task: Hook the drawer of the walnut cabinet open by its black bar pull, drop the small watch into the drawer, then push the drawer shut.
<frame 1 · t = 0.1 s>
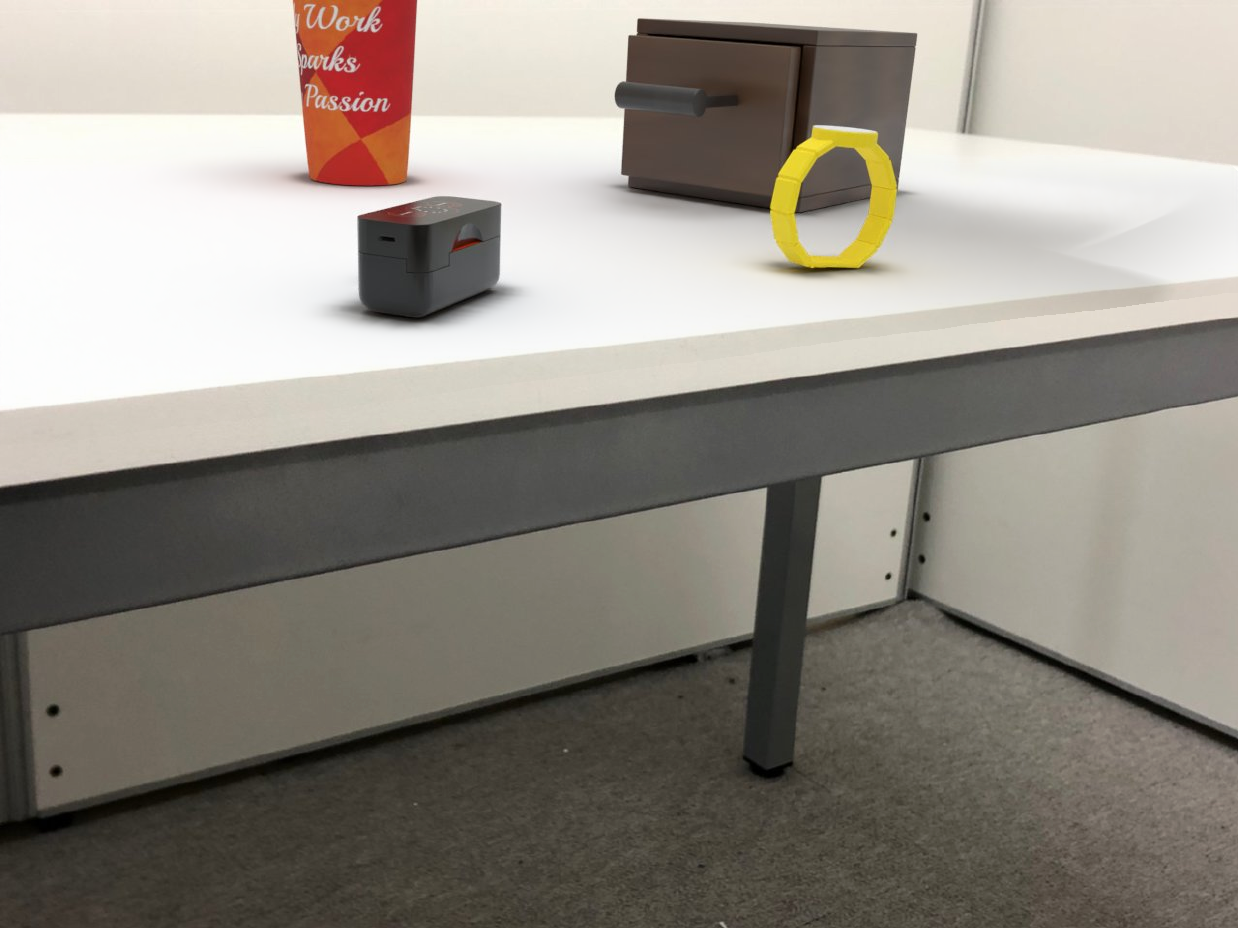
watch: (826, 271, 56), on the table
wireless earbuds: (424, 299, 47), on the table
paper cup: (359, 182, 73), on the table
cabinet: (766, 189, 78), on the table
drawer: (735, 112, 73), point 5 cm above the table, slide at 0.5 cm
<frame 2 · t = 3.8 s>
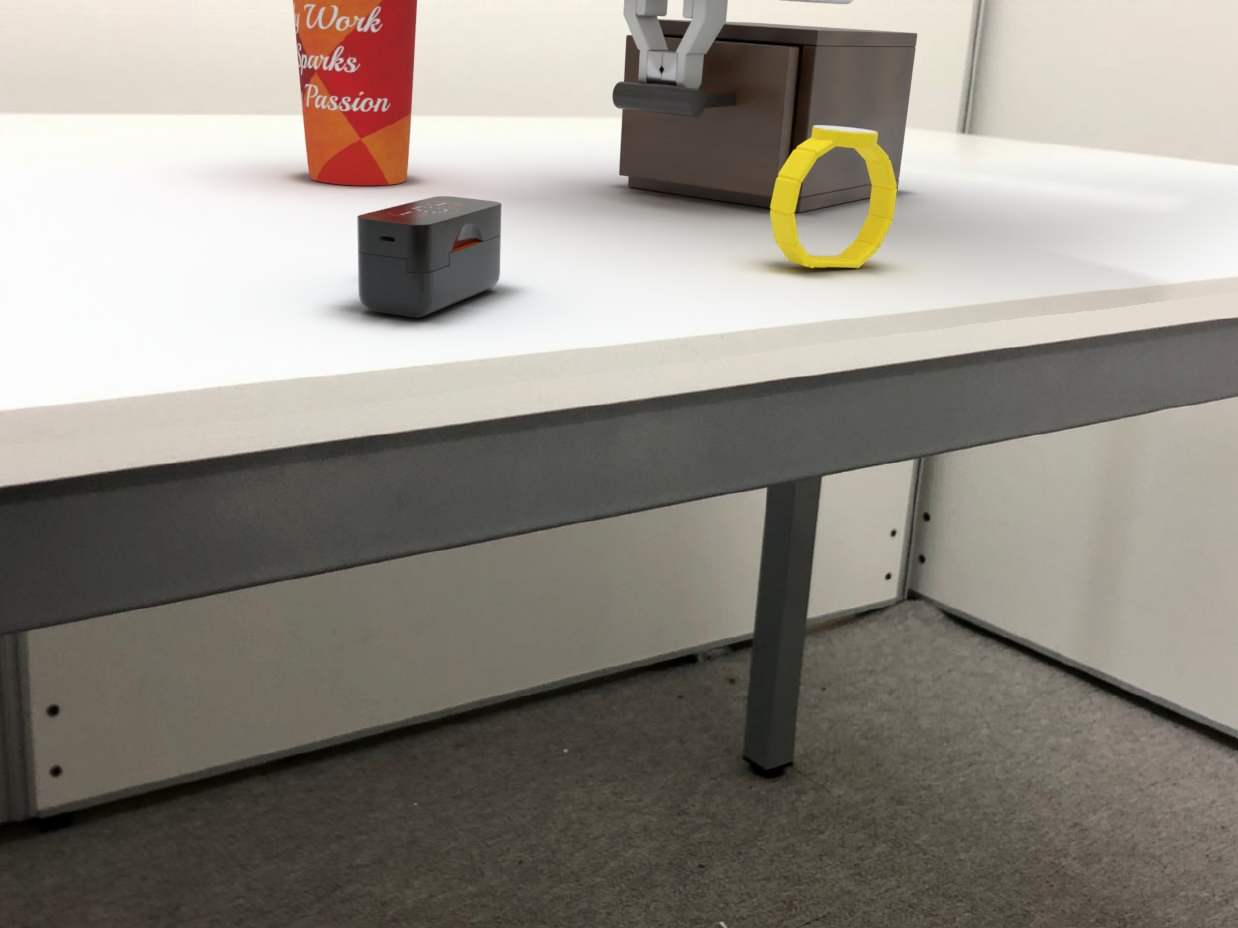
hand: (668, 87, 67), 6 cm above the table, tool pointing down, fingers closed, pressing on drawer
drawer: (733, 112, 73), point 5 cm above the table, slide at 0.7 cm, touching gripper
everything else where it was.
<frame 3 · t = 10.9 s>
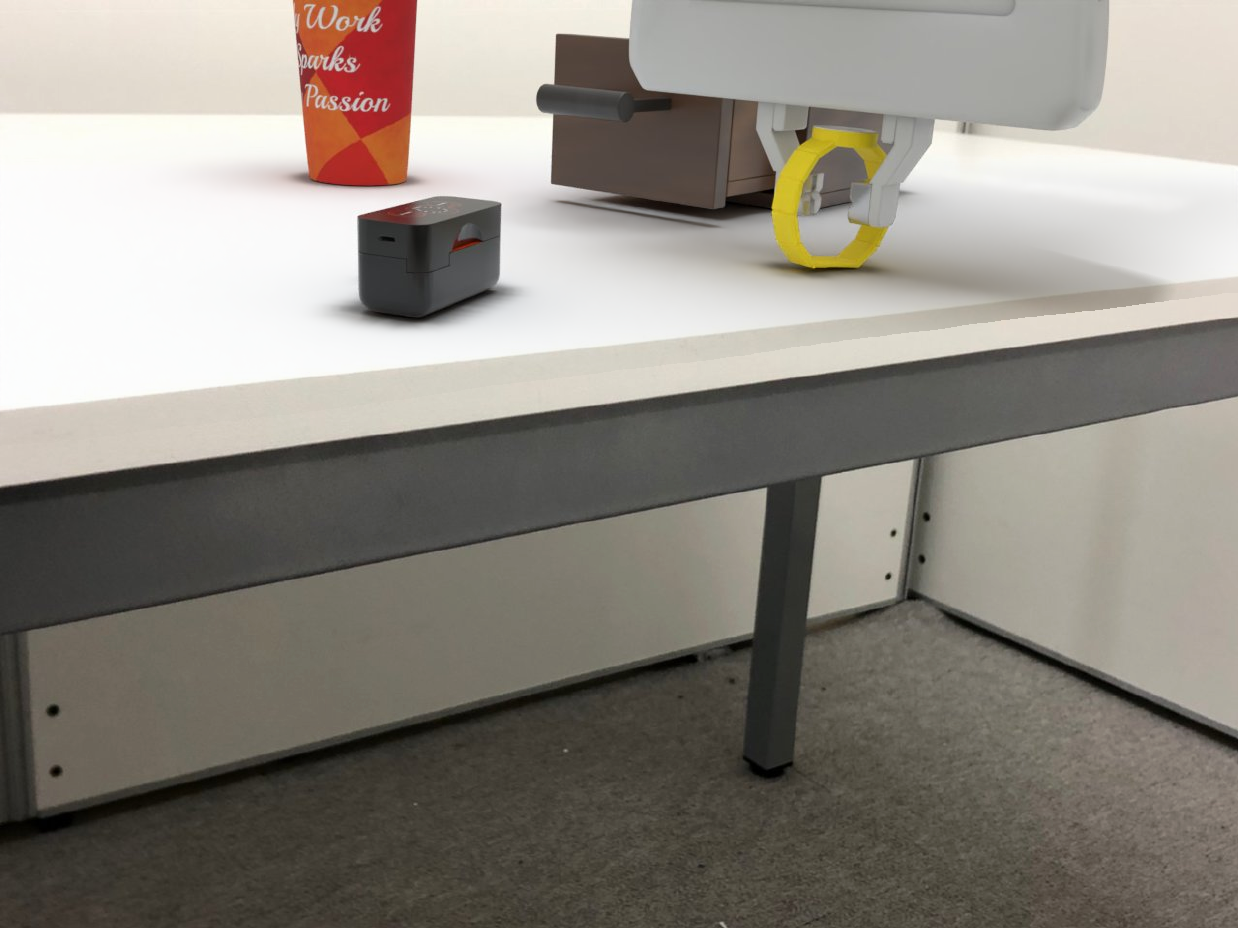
hand: (832, 219, 55), 2 cm above the table, tool pointing down, fingers closed on watch, 2 cm apart
watch: (826, 271, 56), on the table, touching gripper
drawer: (672, 116, 68), point 5 cm above the table, slide at 7.2 cm
everything else where it was.
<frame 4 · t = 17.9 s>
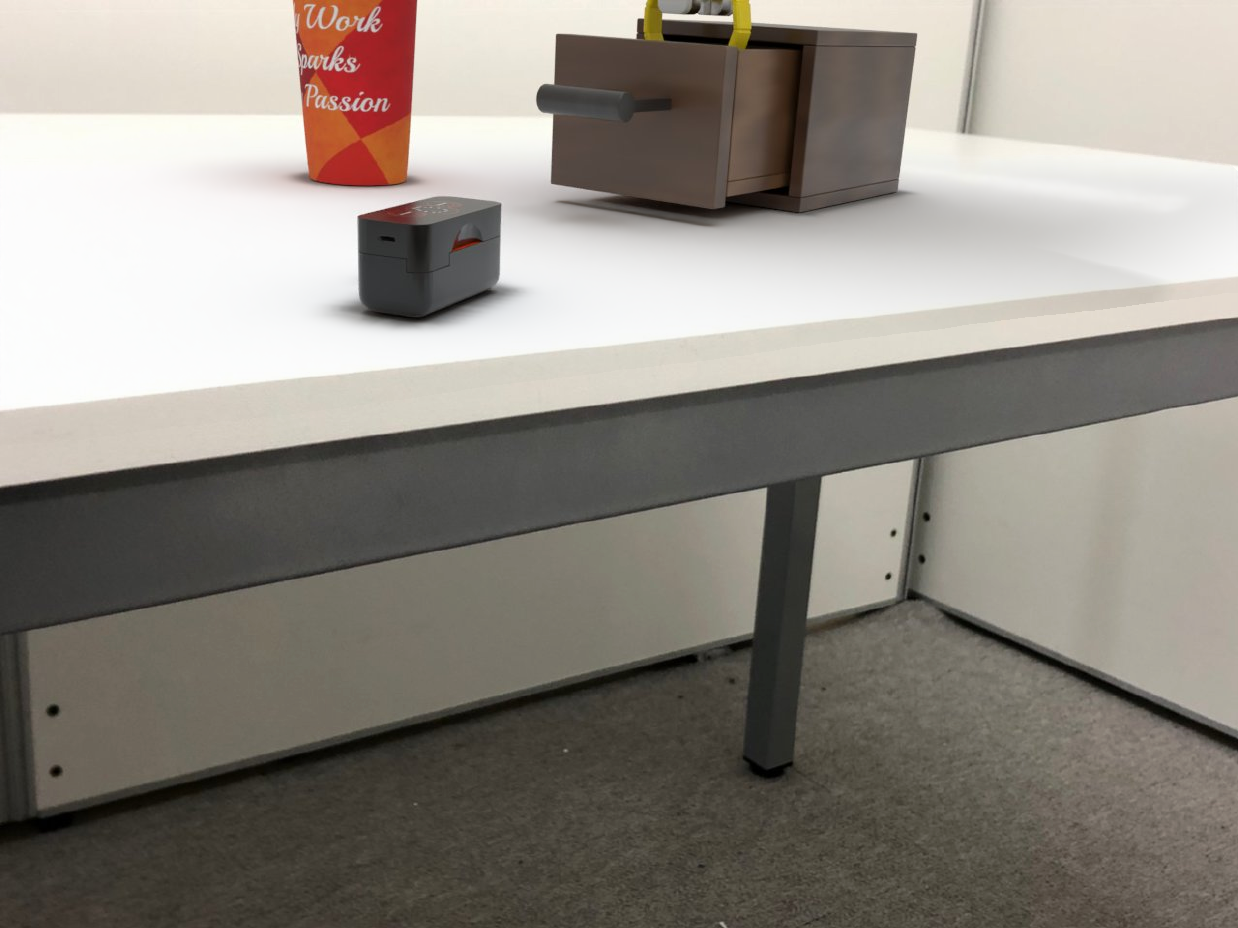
hand: (696, 15, 67), 10 cm above the table, tool pointing down, fingers closed on watch, 2 cm apart
watch: (693, 80, 68), point 7 cm above the table, touching gripper
everything else where it was.
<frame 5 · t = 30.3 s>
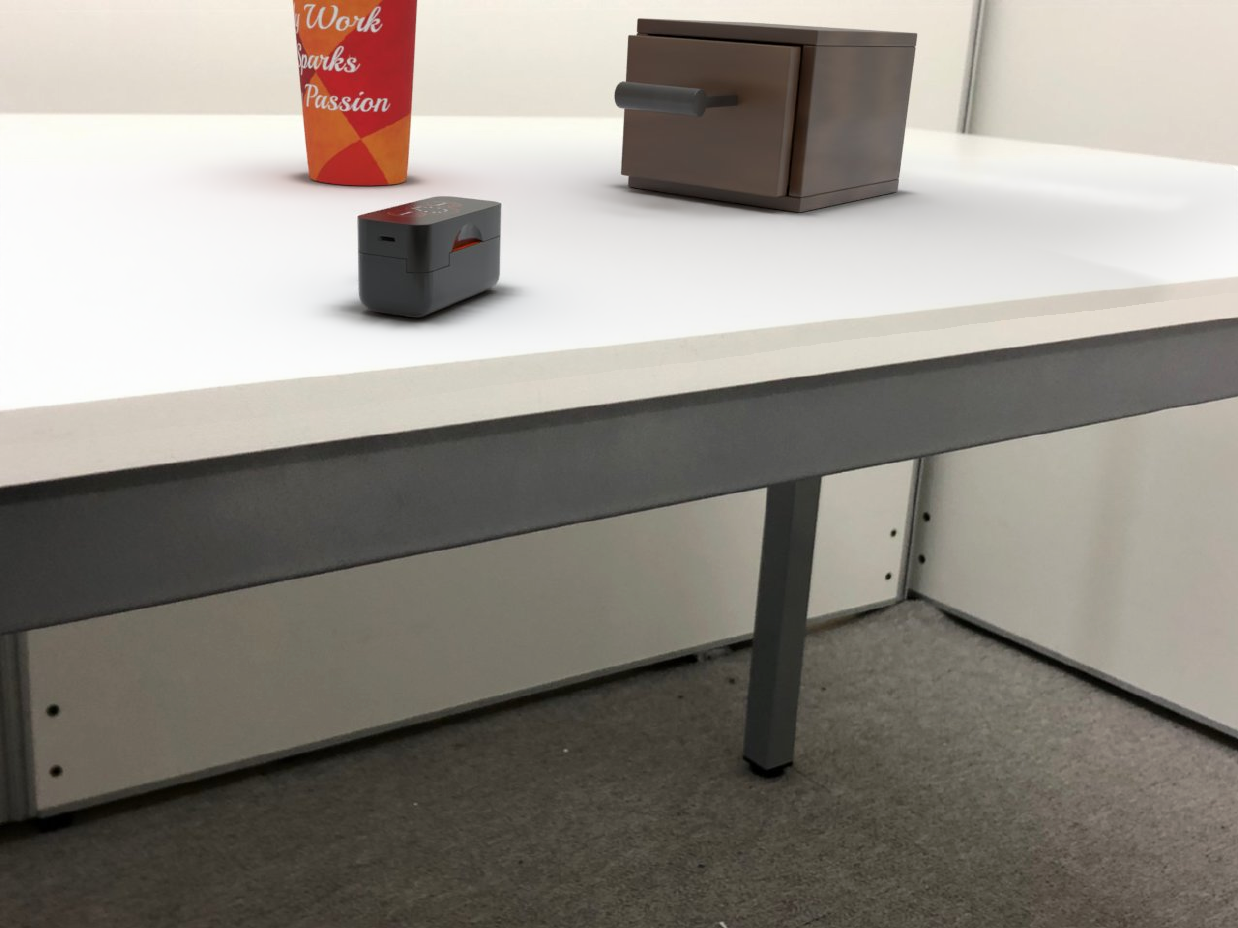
watch: (704, 150, 72), point 3 cm above the table, touching drawer
drawer: (735, 112, 73), point 5 cm above the table, slide at 0.5 cm, touching watch
everything else where it was.
at the end: drawer pulled out 8.0 cm at the most during the clip, back to 0.5 cm at the end; watch inside the target area in the cabinet (7.4 cm from its centre), point 2.8 cm above the cabinet's base; drawer slide at 0.5 cm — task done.
